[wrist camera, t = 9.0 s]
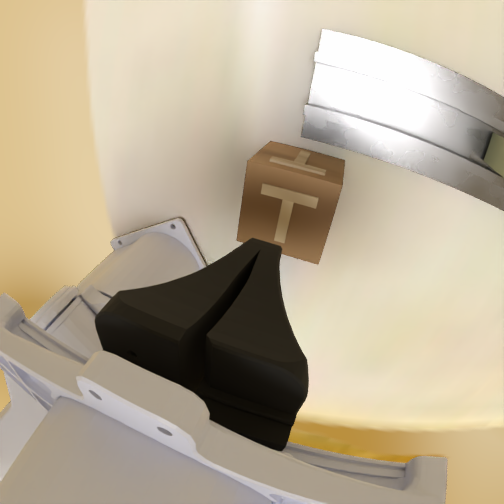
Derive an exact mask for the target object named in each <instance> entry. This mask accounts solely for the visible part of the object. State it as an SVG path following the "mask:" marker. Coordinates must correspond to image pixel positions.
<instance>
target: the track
mask: <svg viewBox="0 0 504 504" xmlns="http://www.w3.org/2000/svg"><path fill="white" fill-rule="evenodd" d="M314 62H316V65H315V70H314V75H313V80H312V85H311V90H310V95H309V100H308V103H307V104H305V108H304V113H303V115H305V120H304V125H303V129H302V134H301V137H304V138H308V139H312V140H315V141H319V142H323V143H327V144H330V145H334V146H337V147H341V148H344V149H347V150H351V151H354V152H357V153H360V154H364V155H367V156H370V157H373V158H376V159H379V160H382V161H385V162H388V163H391V164H394V165H397V166H399V167H402V168H405V169H408V170H410V171H413V172H416V173H418V174H421V175H424V176H426V177H429V178H431V179H434V180H436V181H439V182H441V183H444V184H446V185H448V186H451V187H453V188H456V189H458V190H460V191H463V192H465V193H467V194H469V195H471V196H474V197H476V198H478V199H480V200H482V201H485V202H487V203H489V204H491V205H493V206H495V207H497V208H499V209H501V210H503V211H504V178H503V177H502V176H501V175H500V174H498V173H497V172H496V171H495V170H494V169H493V168H491V167H490V166H489V165H488V164H487V163H485V162H484V158H485V155H486V152H487V149H488V146H489V143H490V140H491V137H492V134H493V132H494V133H495V134H497V135H499V136H501V137H503V138H504V97H502V96H501V95H499V94H497V93H495V92H494V91H492V90H490V89H488V88H486V87H484V86H483V85H481V84H479V83H477V82H475V81H473V80H471V79H469V78H467V77H465V76H463V75H461V74H458V73H456V72H454V71H452V70H450V69H448V68H445V67H443V66H441V65H438V64H436V63H434V62H431V61H429V60H426V59H424V58H421V57H418V56H416V55H413V54H410V53H408V52H405V51H402V50H399V49H396V48H393V47H390V46H387V45H384V44H381V43H377V42H374V41H370V40H367V39H363V38H360V37H356V36H352V35H348V34H344V33H340V32H335V31H331V30H326V29H322V33H321V39H320V44H319V49H318V52H316V51H315V57H314Z"/></svg>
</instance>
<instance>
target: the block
mask: <svg viewBox="0 0 504 504" xmlns="http://www.w3.org/2000/svg"><path fill="white" fill-rule="evenodd" d="M344 166H345V160H342V159H339V158H335V157H332V156H328V155H324V154H321V153H317V152H313V151H309V150H306V149H302V148H298V147H294V146H289V145H285V144H281V143H277V142H272V141H270V142H269V143H268V144H267V145H266V146H264V147H263V148H262V149H261V150H260V151H258V152H257V153H256V154H255V155H254V156H253V157H252V158H250V159H249V160H248V161H247V168H246V175H245V182H244V189H243V196H242V204H241V211H240V218H239V226H238V233H237V241H240V242H243V243H245V242H246V241H248V240H249V239H251V238H256V239H259V240H262V241H266V242H269V243H273V244H276V245H279V246H281V247H282V253H281V254H284V255H287V256H291V257H294V258H297V259H301V260H304V261H308V262H311V263H314V264H319V261H320V258H321V255H322V252H323V248H324V245H325V242H326V239H327V236H328V233H329V229H330V226H331V223H332V219H333V216H334V213H335V209H336V206H337V203H338V199H339V196H340V192H341V189H342V185H343V175H344Z"/></svg>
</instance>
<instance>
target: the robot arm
mask: <svg viewBox="0 0 504 504" xmlns="http://www.w3.org/2000/svg"><path fill="white" fill-rule="evenodd" d="M173 224H174V225H175V227H174V226H173ZM111 246H112V247H113V249H114V251H113V252H112V253H111V254H110V255H109V256H107V257H106V258H105V259H104V260H103V261H102V262H101V263H100V264H99V265H98V266H96V267H95V268H94V269H93V270H92V271H91V272H90V273H89V274H88V275H87V276H86V277H85V278H84V279H83V280H82V281H81V282H80V283H79V284H78V286H77V288H76V287H75V286H72V287H70V286H63V287H62V288H61V289H60V290H59V291H58V292H56V294H54V295H53V296H52V297H51V298H50V299H49V300H48V301H47V302H46V303H45V304H44V305H43V306H42V307H41V308H40V309H39V310H38V311H37V312H36V313H35V314H34V316H32V317H31V319H30V320H29V319H28V318H26V317H25V314H24V311H23V309H22V307H21V306H20V305H19V303H17V301H15V300H14V299H13V298H11V297H10V296H9V295H7V294H6V293H3V294H2V295H1V296H0V368H1V369H2V370H3V371H4V375H5V379H6V384H7V387H8V391H9V395H10V399H11V401H10V402H9V403H8V404H7V405H6V407H5V408H4V409H3V410H2V412H0V504H445V499H446V485H447V458H446V457H432V456H419V457H415V458H413V459H411V460H410V461H409V462H408V463H397V462H389V461H381V460H374V459H367V458H361V457H355V456H350V455H344V454H339V453H334V452H329V451H325V450H320V449H316V448H311V447H307V446H303V445H299V444H295V443H292V442H288V438H289V435H290V431H291V428H292V426H293V424H294V422H295V418H296V415H297V412H298V411H299V409H300V408H301V406H302V405H303V403H304V401H305V400H306V397H307V394H308V384H309V378H308V365H307V359H306V357H305V355H304V354H303V352H302V350H301V348H300V346H299V344H298V342H297V340H296V338H295V336H294V333H293V331H292V328H291V325H290V323H289V320H288V317H287V314H286V310H285V307H284V302H283V298H282V292H281V285H280V271H279V264H280V257H281V253H282V247H281V246H279V245H276V244H273V243H269V242H266V241H262V240H259V239H256V238H251V239H249V240H248V241H246V242H245V243H243V244H242V245H241V246H239V247H238V248H236V249H235V250H233V251H232V252H230V253H229V254H227V255H226V256H224V257H222V258H221V259H219V260H217V261H216V262H214V263H212V264H210V265H208V266H206V264H205V262H204V260H203V258H202V257H201V255H200V253H199V251H198V249H197V247H196V245H195V243H194V241H193V239H192V237H191V235H190V233H189V231H188V229H187V227H186V225H185V223H184V221H183V220H182V219H180V218H176V219H173V220H169V221H166V222H163V223H160V224H157V225H153V226H150V227H147V228H144V229H141V230H138V231H135V232H132V233H129V234H126V235H123V236H120V237H117V238H114V239H113V240H111Z"/></svg>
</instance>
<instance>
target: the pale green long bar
mask: <svg viewBox="0 0 504 504" xmlns="http://www.w3.org/2000/svg"><path fill="white" fill-rule="evenodd" d="M484 162H485V163H487V164H488V165H489V166H490V167H491V168H493V169H494V170H495V171H496V172H497V173H498V174H500V175H501V176H502V177H503V178H504V138H503V137H501V136H499V135H497V134H495V133H494V132H493V134H492V137H491V140H490V143H489V146H488V149H487V152H486V155H485V158H484Z"/></svg>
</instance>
